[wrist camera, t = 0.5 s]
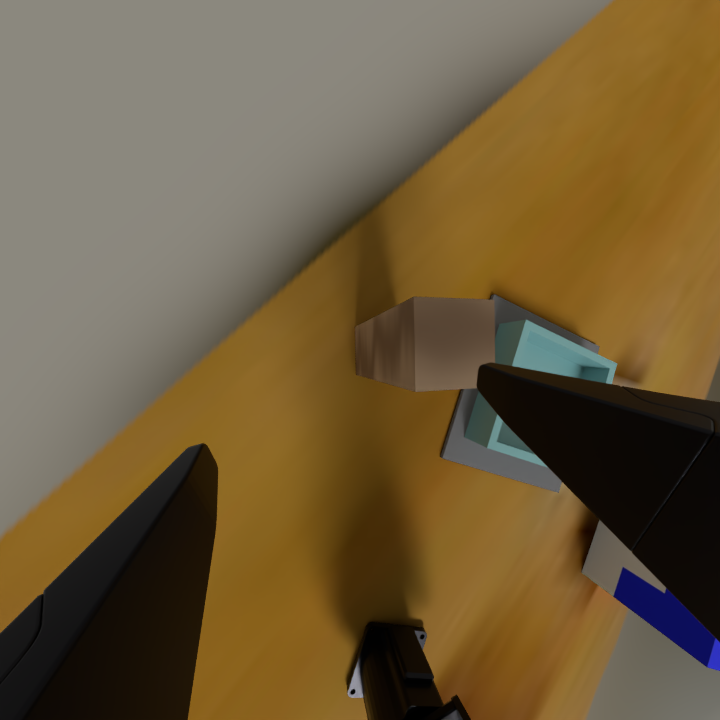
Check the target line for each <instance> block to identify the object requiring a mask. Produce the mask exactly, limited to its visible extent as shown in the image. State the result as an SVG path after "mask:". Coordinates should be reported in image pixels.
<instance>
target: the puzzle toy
mask: <svg viewBox="0 0 720 720" xmlns="http://www.w3.org/2000/svg"><path fill="white" fill-rule="evenodd" d="M582 573H583V574H584V575H585V576H587V577H588V578H589V579H591V580H592V581H593V582H595V583H596V584H597V585H599V586H600V587H601V588H603V589H604V590H605V591H607V592H608V593H609V594H611V595H612V596H613V597H615V598H616V599H617V600H619V601H620V602H621V603H623V604H624V605H625V606H627V607H628V608H629V609H630V610H632V611H633V612H634V613H636V614H637V615H638V616H640V617H641V618H643V619H644V620H645V621H647V622H648V623H649V624H650V625H652V626H653V627H654V628H656V629H657V630H658V631H660V632H661V633H662V634H664V635H665V636H666V637H668V638H669V639H670V640H672V641H673V642H674V643H676V644H677V645H678V646H680V647H681V648H682V649H684V650H685V651H686V652H688V653H689V654H690V655H692V656H693V657H694V658H696V659H697V660H698V661H700V662H701V663H702V664H704V665H705V666H706V667H708V668H712V669H715V670H719V671H720V642H719V641H718V640H717V639H716V638H715V637H714V636H713V635H712V634H711V633H710V632H709V631H708V630H707V629H706V628H705V627H704V626H703V625H702V624H701V623H700V622H699V621H698V620H697V619H696V618H695V617H694V616H693V615H692V614H691V613H690V612H689V611H688V610H687V609H686V608H685V607H684V606H683V605H682V604H681V603H680V601H679V600H678V599H677V598H676V597H675V596H674V595H673V594H672V593H671V592H670V591H669V590H668V589H667V588H666V587H665V586H664V585H663V584H662V583H661V582H660V581H659V580H658V579H657V578H656V577H655V576H654V575H653V574H652V573H651V572H650V571H649V570H648V569H647V568H646V567H645V566H644V565H643V564H642V563H641V562H640V561H639V560H638V559H637V558H636V557H635V556H634V555H633V554H632V551H630V550H629V549H628V548H627V547H626V546H625V545H624V544H623V543H622V542H621V541H620V540H619V539H618V538H617V537H616V536H615V535H614V534H613V533H612V532H611V531H610V530H609V529H608V528H607V527H606V526H605V525H604V524H603V523H602V522H601V521H600V520H599V523H598V526H597V529H596V532H595V535H594V537H593V540H592V543H591V546H590V549H589V552H588V555H587V558H586V561H585V564H584V567H583V570H582Z"/></svg>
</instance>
